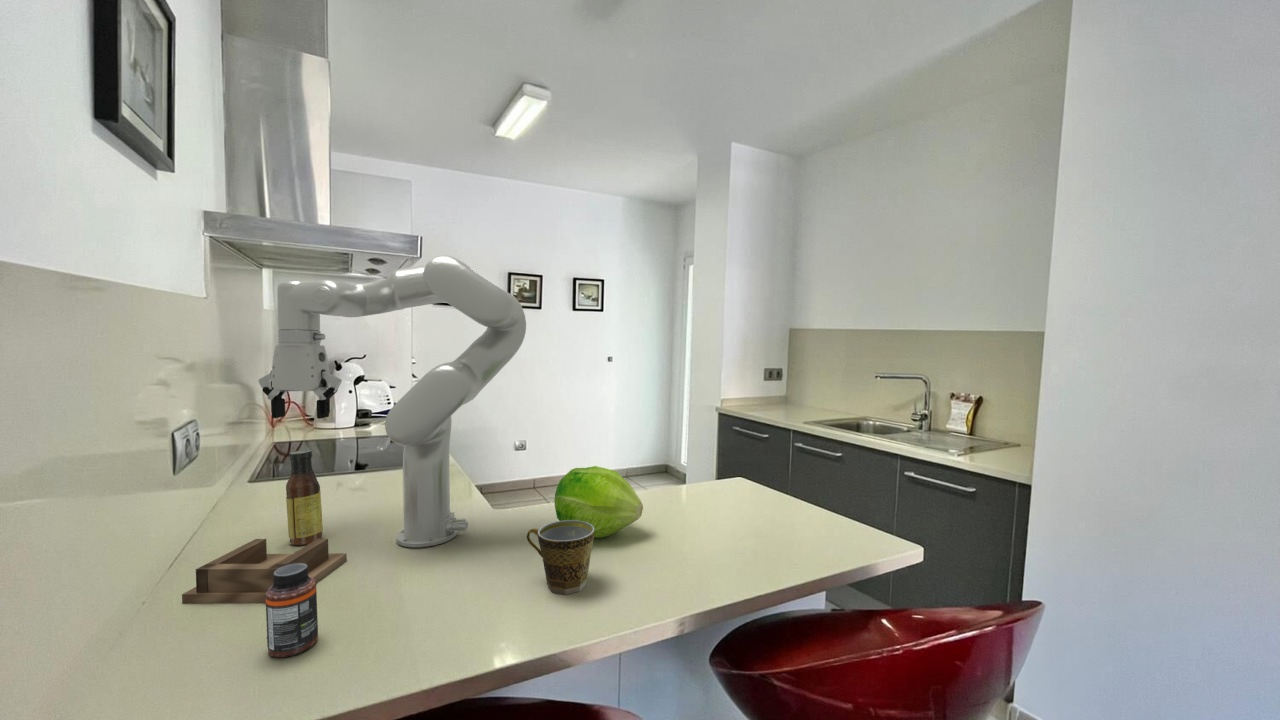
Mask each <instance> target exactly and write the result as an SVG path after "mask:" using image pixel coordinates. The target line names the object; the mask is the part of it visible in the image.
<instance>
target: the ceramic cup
mask: <svg viewBox="0 0 1280 720" xmlns="http://www.w3.org/2000/svg"><path fill="white" fill-rule="evenodd" d="M531 533H532V534H535V535H536V536H537V541H538V545H539V547H538V546H537V545H536V544H535V543H534V542H533V541H532V540H531V538H530V536H531V535H530V534H531ZM594 539H595V537H594V527H593V526H592V525H591V524H589V523H587V522H583V521H576V520H565V521H559V520H558V521H553V522H550V523H547V524H545V525H542V526H541V527H540V528H531V529H530V530H528V532H527V534H526V541H527V542H528V544H529V545H530V546H532V548H533V549H534V550H535V551H536V552H537V553H538V555H539V556H540V557H541V558H542V562H543V568H544V572H545V579H546V585H547V588H548V589H549V590H550V592H551V593H553V594H554V593H555V594H560V595H565V596H566V595H570V594H574V593H578V592H581V591H582V590H583V589H584V587H586V585H587V581H588V580H587V579H588V576H589V575H588V573H589V567H590V562H591V555H592V551H593V544H594Z"/></svg>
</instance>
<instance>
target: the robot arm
mask: <svg viewBox="0 0 1280 720" xmlns="http://www.w3.org/2000/svg"><path fill="white" fill-rule="evenodd" d="M276 289H277V290H276V292H277V338H278V339H277V342H278V344H276V345H275V346H274V352H273V357H272V364H271V372H270V373H268V374H266V375H264V376H262V377H260V378H259V379H258V383H259V385H260V388H262V392H263V393H264V394H265V396H266V397H267V399H268V400H270V413H271V418H272V419H279V418H283V417H285V416H286V399H285V398H283V397H284V395H285V394H286V393H287V392H313V393H314V394H315V395H316V396H317V398H318V399H317V400H316V418H317V419H319V420H321V419H325V418H329V416H330V412H331V406H330V405H331V401H330V400H331V399H332V398H333V396H334V395H335V394H336V393H337V392H338V391H339V390H338V389H339V387H340V386H341V384H342V380H343V379H342V378H340V377H338V376H336V375H334V374H332V373H330V368H329V367H330V365H329V360H328V354H327V351H326V347H325V345H321V341H324V340H326V335H325V334H324V333H322V332H321V319H320V318H321V315H323V316H332V317H344V318H360V317H365V316H367V317H368V316H373V315H380V314H385V313H391V312H395V311H402V310H405V309H409V308H415V307H422V306H427V305H434V304H442V303H446V304H448V305H450V306H451V307H453V308H454V309H456V310H457V311H459V312H460V313H462V314H464V315H465V316H467V317H468V318H470V319H471V320H473V321H474V322H476V323H478V324H479V325H482V326H484V327H486V330H485V331H484V332H483V333H482V334H481V335H480V336H478V338H477V339H475V340H474V341H472V343H471V344H470V345H469V346H468V347H467V348H466V349H465V350H464V352H462V353H460V355H459V356H458V357H456V358H455V359H454V360H453V361H451V362H445V363H441V364H438V365H436V366H435V367H433V368H431V369H430V370H429V371H428V372H426V373H425V374H424V375H423V376H422V377H421V378H420V379H419V380H418V381H417V382H416V383H415V384H414V385H413V386H412V387H411V388H410V389H409V390H408V391H407V392H406V393H405V394H404V395H403V396H402V397H401V398H400V399H399V400H398V401H397V402H396V403H395V404H394V405H393V406H392V407H391V409H389V410H388V413H387V415H386V417H385V423H384V429H385V434H386V436H387V437H388V439H389V440H390V441H391V442H392V443H394V444H396V445H397V446H401V447H403V451H402V452H403V453H402V491H403V492H402V495H403V496H402V497H403V529H402V530H400V532H397V534H396V540H395V541H396V543H397V544H398V545H399V546H401V547H405V548H413V549H414V548H417V549H418V548H427V547H432V546H437V545H440V544H443V543H446V542H449V541H451V540H453V539H454V538H455V537H456V536H458V533H459V531H460V532H461V531H462V532H463V531H464V532H466V531H468V529H469V521H467V519H466V518H458V519H457V518H456V517H455V512H452V511H451V498H450V497H451V493H450V491H451V490H450V487H451V485H450V484H451V482H450V444H451V443H450V441H451V432H452V415H454V414H455V413H456V411H458V409H461V407H462V406H463V405H466V404H468V403H470V402H471V401H473V400H474V399H475V398H476V397H477V396H478V395H479V393H480V392H481V391H482V390H483V389H484V388H485V387H486V386H487V385H488V384H489V383H490V382H491V381H492V380H493V378H495V376H497V375H498V374H499V372H500V371H501V370H502V369H503V368H504V367H505V366H506V365H507V364H508V363H509V362H510V361H511V360H512V359H513V358H514V356H515V355H516V354H517V352H518V351H519V349H520V348H521V347H522V344H523V342H524V340H525V335H526V332H527V320H526V315H525V314H526V313H525V312H524V309H523V307H522V304H521V303H520V302H519V300H518V298H516V297H515V295H513V294H511V293H510V292H509V291H506V290H504V289H502V288H500V287H499V286H497V285H495V284H494V283H493V282H491V281H490V280H487V279H486V278H484V277H483V276H481V274H479V273H476V271H474V270H472V268H471V267H470V266H469V265H467V264H466V263H464V261H461V260H460V259H458V258H456V257H454V256H450V255H439V256H436V257H434V258H432V259H431V260H429V261H428V262H427V263H426V265H419V266H411V267H405V268H399V269H395V270H393V271H392V273H391V275H390V276H389V277H388V278H385V279H382V280H379V281H373V282H367V283H358V284H352V283H351V284H350V283H346V282H341V281H339V280H338V281H337V280H333V279H320V280H318V279H317V280H314V281H313V280H312V281H303V280H284V281H281V282H279V283H278V285H277V288H276Z"/></svg>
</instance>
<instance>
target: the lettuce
mask: <svg viewBox="0 0 1280 720" xmlns="http://www.w3.org/2000/svg"><path fill="white" fill-rule="evenodd" d="M553 499H554V500H553V501H554V502H553V503H554V509H555V513H556V519H557V520H558V521H565V520H576V521H583V522H587V523H589V524H591V525H592V526H593V527H594V538H595V537H596V539H601V538H606V537H609V536H611V535H614V534H615V533H618V532H619V531H621V530H622V529H624V528H626V527H628V526H630V525H631V524H633V523H636V522H637V521H638V520H639V519H640V518H641V516H642V514H643V510H644V504H643V502H642V500H641V499H640V497H639V496H638V494H637V493H636V490H635V489H634V488H633V487H632V485H631V484H630V483H629V482H628V481H627V480H626V479H625V478H624V477H623V476H622V475H621V474H620V473H618V471H616V470H613V469H611V468H605V467H601V466H597V465H594V466H588V467H575V468H572V469H570V470H569V471H568V472H567V473H566V474H565V475H564V476H562V478H561V479H560V480H559V482H558V484H557V486H556V490H555V492H554V498H553Z"/></svg>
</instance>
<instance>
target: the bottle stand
mask: <svg viewBox="0 0 1280 720" xmlns="http://www.w3.org/2000/svg"><path fill="white" fill-rule="evenodd" d="M267 551H268V549H267V538H255V539H253V540H251V541H249V542H247V543H245V544H243V545H241V546H239V547H237V548H235V549H233V550H231V551H229V552H228V553H225V554H223V555H221V556H219V557H217V558H216V559H213V560H211V561H210V562H207V563H205V564H203V565H202V566H201V565H200V566H199V567H197V568H196V569H195V584H196V585H195V587H193V588H191V589H189V590H187V591H186V592H183V593H182V594H181V603H182V604H266V592H267V590H268V589H269V588H270V587H271V586H272V585H273V584H274V582H273V574H274V572H275V571H276V570H277V569H278V568H280V567H283V566H286V565H289V564H295V563H304V564H306V565H307V566H308V576H309V577H312V578H313V579H315V581H316V584H317V583H319V582H320V581H321V580H322V579H324V578H325V577H327V576H328V575H329V574H331V573H332V572H334V571H335V570H337V569H339V568H340V567H341V566H342V565H343V564H345V563H346V562H347V561H348V560H347V559H348V556H347V555H348V553H346V552H345V553H344V552H343V553H342V552H341V553H340V552H338V553H333V552H332V553H329V538H321V539H316V540H315V541H313V542H311V543H310V544H307V545H304V546H303V547H301V548H300V549H298V550H296V551H295V552H293V553H268V552H267Z"/></svg>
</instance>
